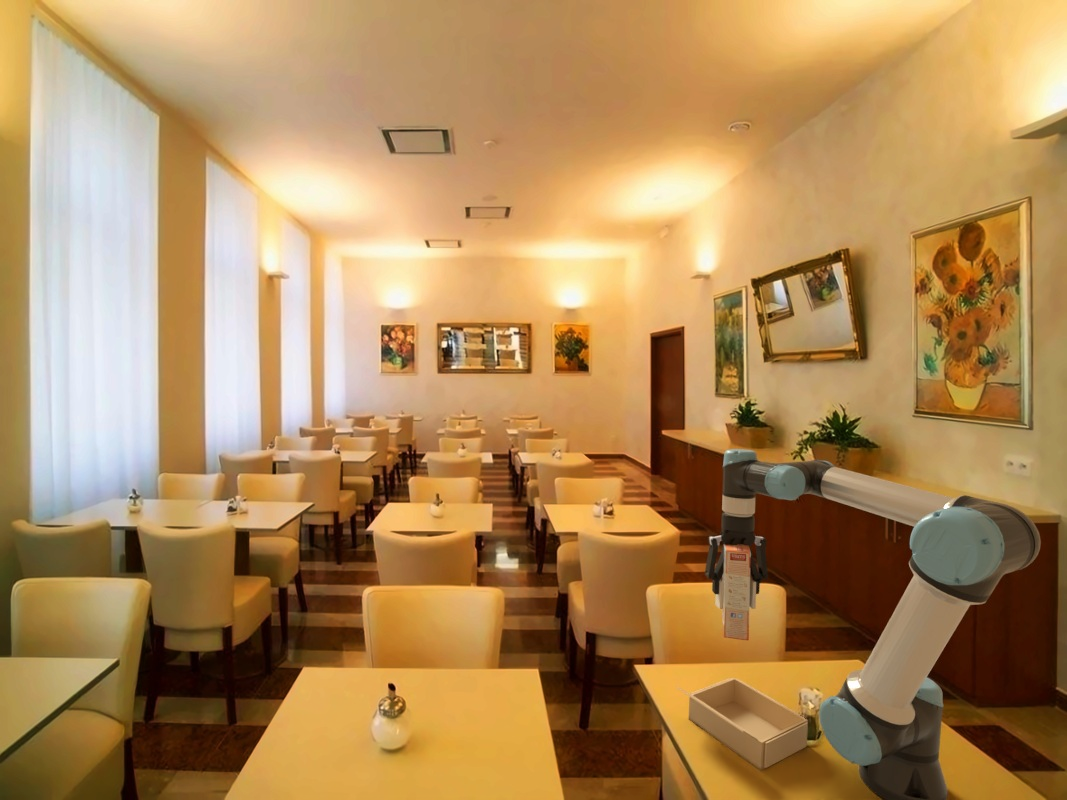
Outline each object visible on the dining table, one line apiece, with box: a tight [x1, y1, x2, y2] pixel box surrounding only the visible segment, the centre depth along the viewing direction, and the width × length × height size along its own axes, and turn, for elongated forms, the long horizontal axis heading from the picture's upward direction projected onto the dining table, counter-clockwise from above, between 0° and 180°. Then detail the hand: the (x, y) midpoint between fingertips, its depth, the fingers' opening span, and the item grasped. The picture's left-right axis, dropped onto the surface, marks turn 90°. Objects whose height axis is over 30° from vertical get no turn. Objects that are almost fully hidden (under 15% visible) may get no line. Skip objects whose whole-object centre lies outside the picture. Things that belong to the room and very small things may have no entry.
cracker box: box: [721, 543, 751, 641], centre depth 138 cm, size 14×6×21 cm, turn 163°
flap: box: [676, 686, 758, 741], centre depth 126 cm, size 19×1×6 cm
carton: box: [688, 677, 809, 771], centre depth 132 cm, size 21×16×6 cm
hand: (735, 606), depth 138 cm, fingers closed on cracker box, 7 cm apart
